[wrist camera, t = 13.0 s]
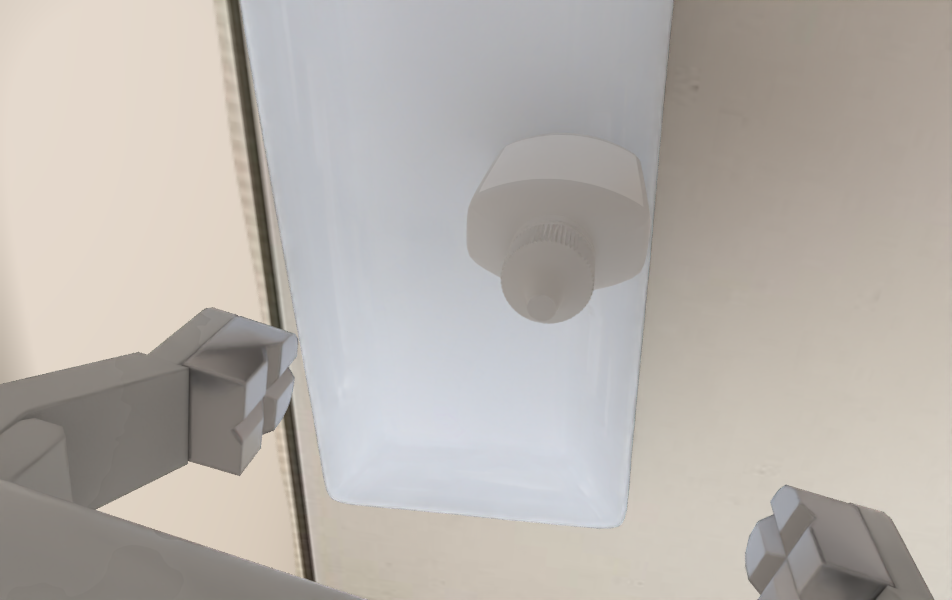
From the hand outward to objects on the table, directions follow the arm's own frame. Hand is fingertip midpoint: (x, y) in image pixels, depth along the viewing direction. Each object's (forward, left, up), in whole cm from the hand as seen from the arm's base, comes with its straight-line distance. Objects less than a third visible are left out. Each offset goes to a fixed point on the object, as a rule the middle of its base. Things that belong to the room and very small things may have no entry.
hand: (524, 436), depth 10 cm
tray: (+5, -4, -21) cm, 22 cm away
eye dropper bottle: (0, 0, -17) cm, 17 cm away
